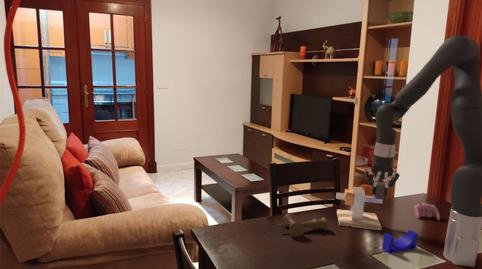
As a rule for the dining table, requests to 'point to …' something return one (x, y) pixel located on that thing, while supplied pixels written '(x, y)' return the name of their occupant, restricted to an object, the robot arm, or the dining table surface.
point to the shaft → (373, 199)
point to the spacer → (349, 197)
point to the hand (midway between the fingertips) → (378, 195)
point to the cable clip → (400, 242)
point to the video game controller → (429, 208)
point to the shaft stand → (358, 213)
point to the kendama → (302, 224)
